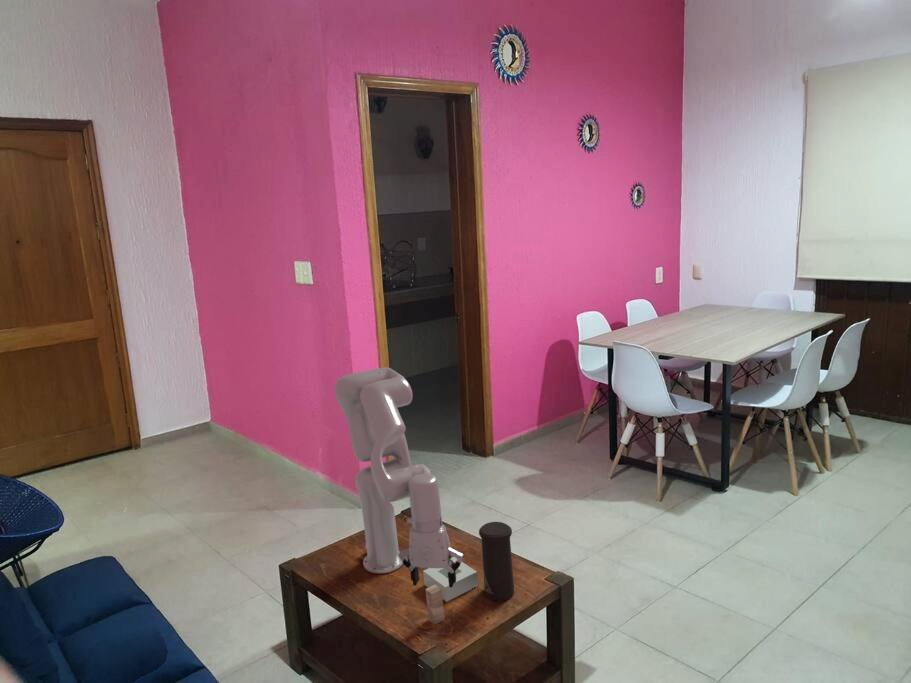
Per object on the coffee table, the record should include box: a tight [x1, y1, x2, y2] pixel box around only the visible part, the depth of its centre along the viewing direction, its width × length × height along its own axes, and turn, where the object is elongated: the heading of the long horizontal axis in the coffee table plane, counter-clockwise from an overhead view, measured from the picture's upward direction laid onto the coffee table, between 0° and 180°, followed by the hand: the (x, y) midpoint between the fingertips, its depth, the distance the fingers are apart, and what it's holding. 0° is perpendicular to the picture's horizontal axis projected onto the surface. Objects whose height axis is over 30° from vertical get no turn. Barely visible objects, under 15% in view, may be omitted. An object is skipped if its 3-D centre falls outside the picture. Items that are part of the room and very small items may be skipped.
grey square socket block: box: [422, 556, 479, 603], centre depth 194 cm, size 11×11×4 cm
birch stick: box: [425, 585, 445, 626], centre depth 179 cm, size 3×3×9 cm
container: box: [478, 521, 515, 602], centre depth 187 cm, size 9×9×20 cm
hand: (434, 583), depth 177 cm, fingers open, 9 cm apart
